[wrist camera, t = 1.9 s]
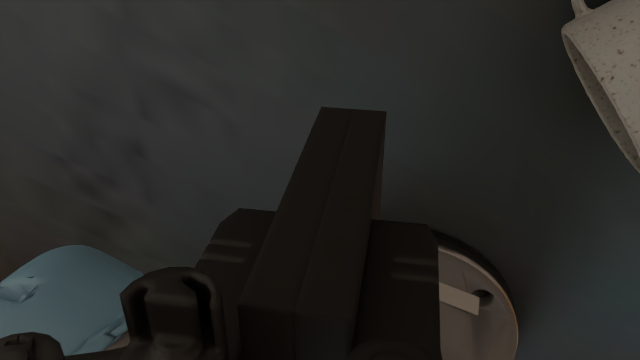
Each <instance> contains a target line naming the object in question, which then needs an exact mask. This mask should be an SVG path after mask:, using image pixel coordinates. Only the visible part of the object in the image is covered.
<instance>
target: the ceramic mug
mask: <svg viewBox="0 0 640 360" xmlns="http://www.w3.org/2000/svg"><path fill="white" fill-rule="evenodd" d="M571 3H572V7H573V10H574V12H575V19H573V20H572V21H570V22H568V23H567V24H565V25H564V26H563V27H562V30H561V34H562V39H563V42H564V45H565V48H566V51H567V54H568V56H569V57H570V59H571V61H572V63H573V66H574V69H575V71H576V73H577V75H578V77H579V79H580V81H581V83H582V85H583V87H584V89H585V91H586V94H587V95H588V96H589V98H590V100H591V102H592V104H593V106H594V107H595V109H596V111H597V112H598V114H599V116H600V118H601V120H602V121H603V123H604V124H605V126H606V128H607V130H608V131H609V133H610V135H611V137H612V138H613V139H614V140H615V142H616V143H617V145H618V147H619V148H620V150H621V151H622V152H623V153H624V154H625V157H626V158H627V159H628V160H629V162H630V163H631V164H632V165H633V166H634V168H635V169H636V170H637V171H638V172H639V173H640V0H611V1H609V2H607V3H605V4H603V5H601V6H599V7H597V8H596V9H594V10H593V9H590V8H588V7H587V6H586V4H585V3H584V0H571Z"/></svg>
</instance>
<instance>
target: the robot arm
mask: <svg viewBox="0 0 640 360" xmlns="http://www.w3.org/2000/svg"><path fill="white" fill-rule="evenodd" d="M385 126H386V112H385V111H371V110H357V109H342V108H328V107H321V109H320V111H319V113H318V116H317V118H316V121H315V123H314V125H313V128H312V130H311V132H310V135H309V137H308V139H307V142H306V144H305V146H304V149H303V151H302V153H301V156H300V158H299V160H298V163H297V165H296V167H295V170H294V172H293V174H292V177H291V179H290V181H289V184H288V186H287V188H286V191H285V193H284V195H283V198H282V200H281V203H280V205H279V207H278V210H277V212H274V211H264V210H254V209H243V208H239V209H238V210H237V211H235V212H234V213H233V214H231V215H230V216H229V217H227V218H226V219H225V220H223V221H222V222H221V223H220V224H219V226H218V228H217V230H216V231H215V233H214V235H213V237H212V239H211V242H210V244H208V246H207V247H206V249H205V251H204V253H203V254H202V259H200V260H199V262H198V263H197V265H196V267H195V269H194V268H190V267H168V268H164V269H160V270H156V271H153V272H149V273H147V274H143V273H142V272H140V271H138V270H136V269H134V268H132V267H130V266H128V265H127V264H125V263H123V262H121V261H119V260H117V259H115V258H113V257H112V256H110V255H108V254H106V253H104V252H102V251H100V250H98V249H95V248H93V247H89V246H84V245H70V246H63V247H59V248H56V249H53V250H50V251H48V252H46V253H43V254H41V255H40V256H38V257H36V258H35V259H33V260H31V261H30V262H28V263H27V264H25V265H24V266H22V267H20V268H19V269H18V270H16V271H15V272H14V273H12V274H11V275H10V276H8V277H7V278H6V279H4V280H3V281H2V282H1V283H0V360H514V357H515V353H516V349H517V344H518V326H517V320H516V315H515V309H514V304H513V300H512V296H511V294H510V291H509V289H508V287H507V285H506V283H505V281H504V279H503V278H502V277H501V275H500V274H499V272H498V271H497V270H496V269H495V268H494V266H493V265H492V264H491V263H490V262H489V261H488V260H486V259H485V258H484V257H483V256H482V255H480V254H479V253H478V252H477V251H475V250H474V249H472V248H471V247H469V246H467V245H466V244H464V243H462V242H460V241H458V240H456V239H454V238H451V237H449V236H446V235H444V234H441V233H437V232H434V231H431V230H429V228H428V227H427V225H425V224H414V223H404V222H394V221H384V220H378V219H379V212H380V198H381V183H382V169H383V155H384V140H385Z"/></svg>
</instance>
